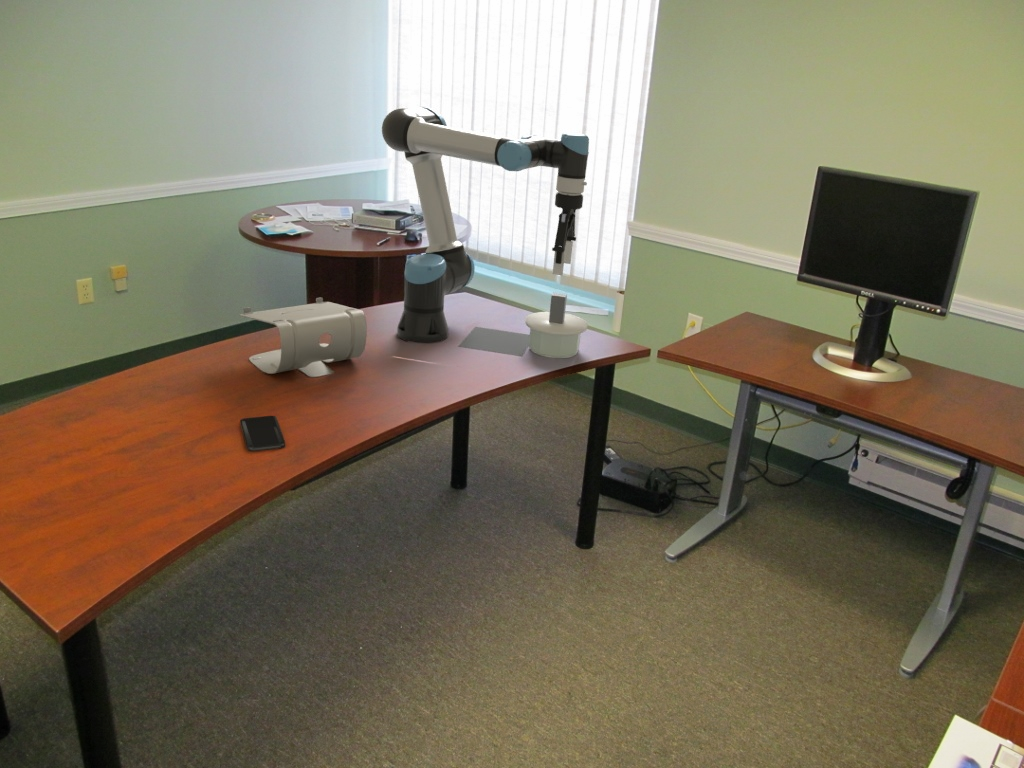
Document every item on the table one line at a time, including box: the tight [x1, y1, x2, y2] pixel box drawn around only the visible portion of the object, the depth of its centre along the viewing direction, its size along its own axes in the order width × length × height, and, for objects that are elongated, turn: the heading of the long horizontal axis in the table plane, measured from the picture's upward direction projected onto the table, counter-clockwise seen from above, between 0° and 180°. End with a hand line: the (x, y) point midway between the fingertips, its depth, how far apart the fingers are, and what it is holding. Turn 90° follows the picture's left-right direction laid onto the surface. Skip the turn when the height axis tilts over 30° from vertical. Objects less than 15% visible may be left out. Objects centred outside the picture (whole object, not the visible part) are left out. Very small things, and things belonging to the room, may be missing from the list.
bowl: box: [528, 328, 582, 359], centre depth 239 cm, size 14×14×8 cm
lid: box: [524, 292, 589, 335], centre depth 236 cm, size 18×18×10 cm
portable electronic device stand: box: [239, 296, 368, 379], centre depth 214 cm, size 26×24×16 cm
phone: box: [240, 415, 286, 453], centre depth 178 cm, size 8×1×15 cm
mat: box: [457, 326, 530, 357], centre depth 243 cm, size 19×19×1 cm
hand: (561, 268), depth 231 cm, fingers open, 13 cm apart
